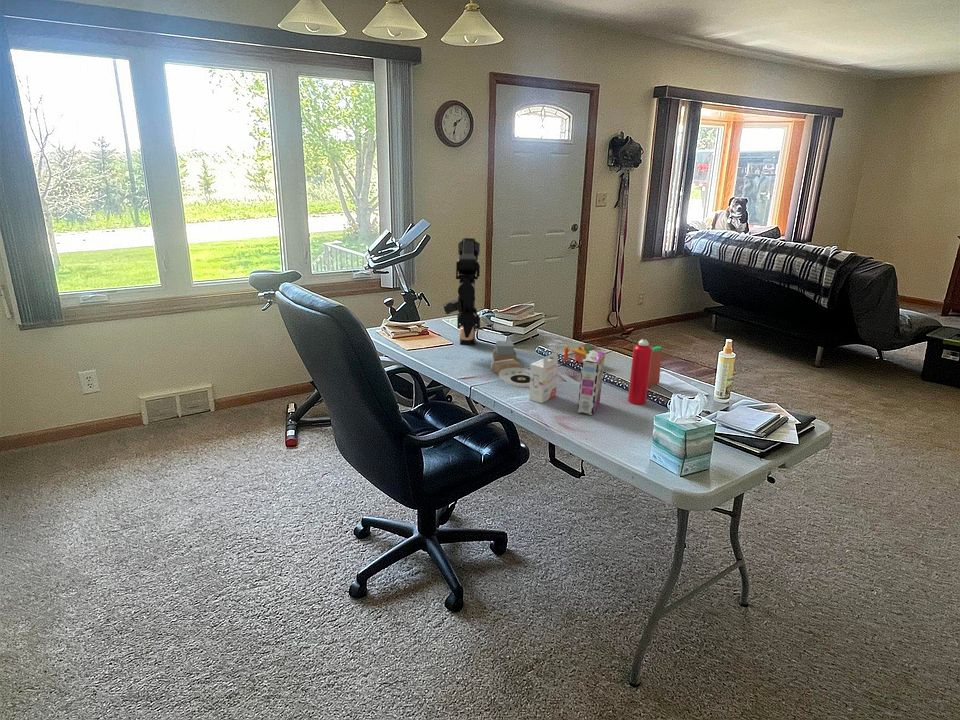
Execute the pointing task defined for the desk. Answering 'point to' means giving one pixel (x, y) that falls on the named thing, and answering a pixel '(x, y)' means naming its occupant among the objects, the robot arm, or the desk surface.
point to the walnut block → (503, 356)
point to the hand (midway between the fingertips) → (466, 335)
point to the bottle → (640, 373)
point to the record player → (512, 372)
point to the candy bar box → (591, 382)
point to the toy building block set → (654, 365)
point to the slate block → (504, 348)
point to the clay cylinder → (462, 334)
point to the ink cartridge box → (543, 378)
